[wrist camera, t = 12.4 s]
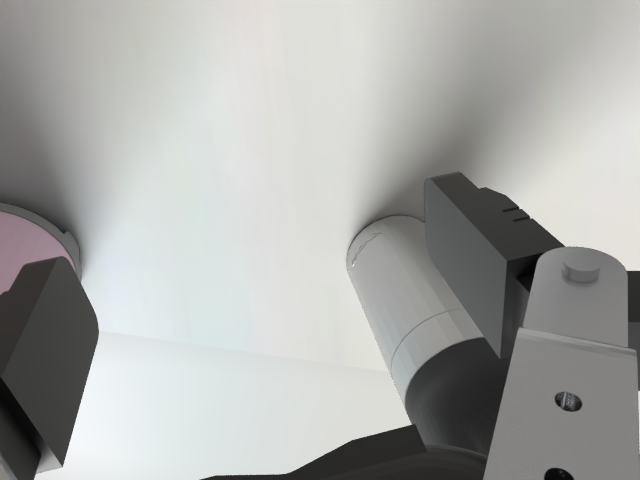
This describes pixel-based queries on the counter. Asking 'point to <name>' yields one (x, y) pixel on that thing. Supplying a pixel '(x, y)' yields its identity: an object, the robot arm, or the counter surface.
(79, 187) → the counter surface
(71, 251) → the blender
